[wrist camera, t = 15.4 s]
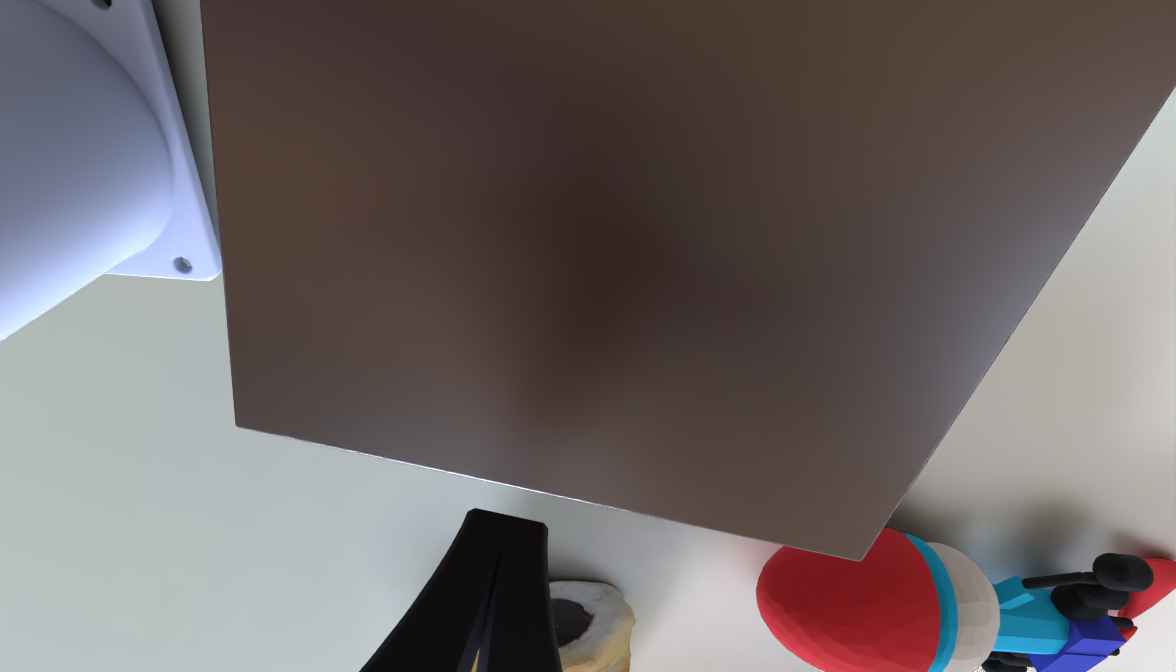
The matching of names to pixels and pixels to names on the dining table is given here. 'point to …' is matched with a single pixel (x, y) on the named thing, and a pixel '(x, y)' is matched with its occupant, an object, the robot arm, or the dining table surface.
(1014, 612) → the toy figure
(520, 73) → the cabinet
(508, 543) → the robot arm
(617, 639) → the pastry
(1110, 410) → the dining table surface
